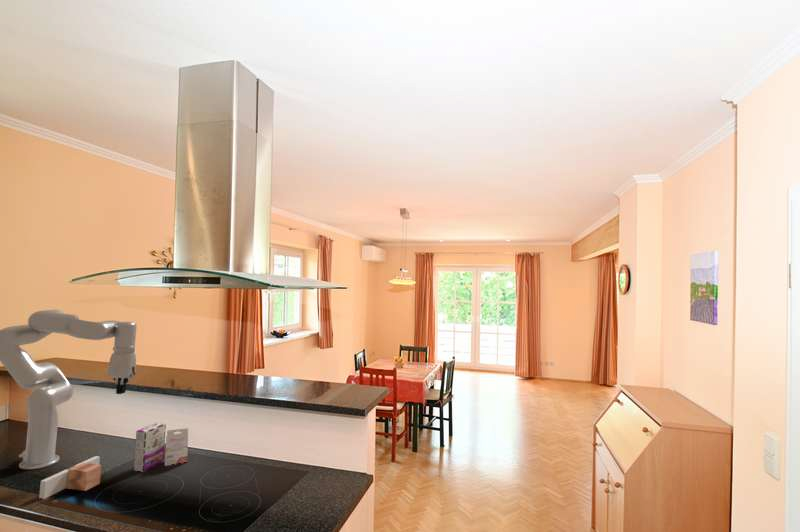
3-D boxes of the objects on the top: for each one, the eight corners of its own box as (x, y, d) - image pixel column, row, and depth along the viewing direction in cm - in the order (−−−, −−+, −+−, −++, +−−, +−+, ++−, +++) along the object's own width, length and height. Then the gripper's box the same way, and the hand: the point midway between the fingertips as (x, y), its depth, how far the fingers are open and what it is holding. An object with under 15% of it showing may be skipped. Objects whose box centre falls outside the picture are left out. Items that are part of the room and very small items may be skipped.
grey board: (38, 498, 143) (40, 480, 143) (94, 471, 164) (95, 455, 165) (44, 499, 142) (45, 480, 143) (98, 471, 164) (100, 456, 164)
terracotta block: (66, 488, 150) (68, 469, 151) (81, 481, 156) (83, 462, 157) (85, 491, 149) (86, 471, 149) (99, 483, 155) (101, 464, 155)
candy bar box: (154, 460, 177) (157, 421, 178) (163, 461, 176) (166, 423, 177) (132, 471, 166) (135, 430, 167) (142, 472, 165) (146, 431, 166)
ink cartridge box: (186, 458, 180) (189, 424, 181) (186, 463, 175) (189, 428, 176) (164, 461, 176) (167, 427, 177) (164, 466, 172) (166, 430, 172)
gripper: (101, 350, 173) (97, 394, 172) (132, 352, 171) (129, 396, 170) (116, 348, 181) (112, 389, 180) (146, 350, 179) (142, 392, 178)
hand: (120, 393), depth 175 cm, fingers closed
